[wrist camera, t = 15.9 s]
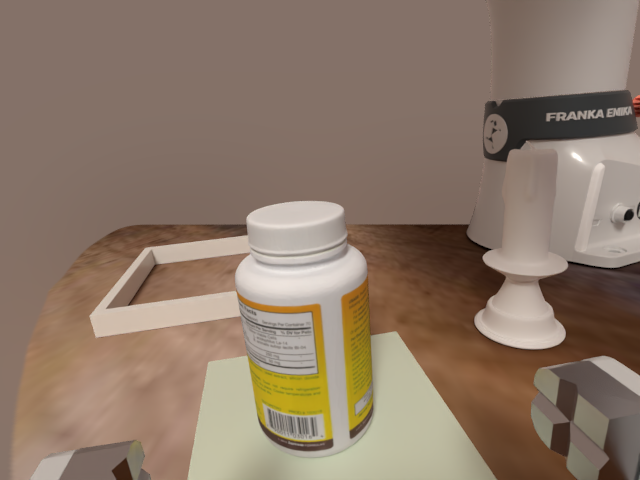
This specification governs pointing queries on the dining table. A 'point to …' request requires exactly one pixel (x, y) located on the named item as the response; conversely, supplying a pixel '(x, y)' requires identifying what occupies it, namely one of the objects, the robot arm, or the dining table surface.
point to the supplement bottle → (306, 328)
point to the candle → (525, 255)
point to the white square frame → (125, 319)
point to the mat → (359, 459)
